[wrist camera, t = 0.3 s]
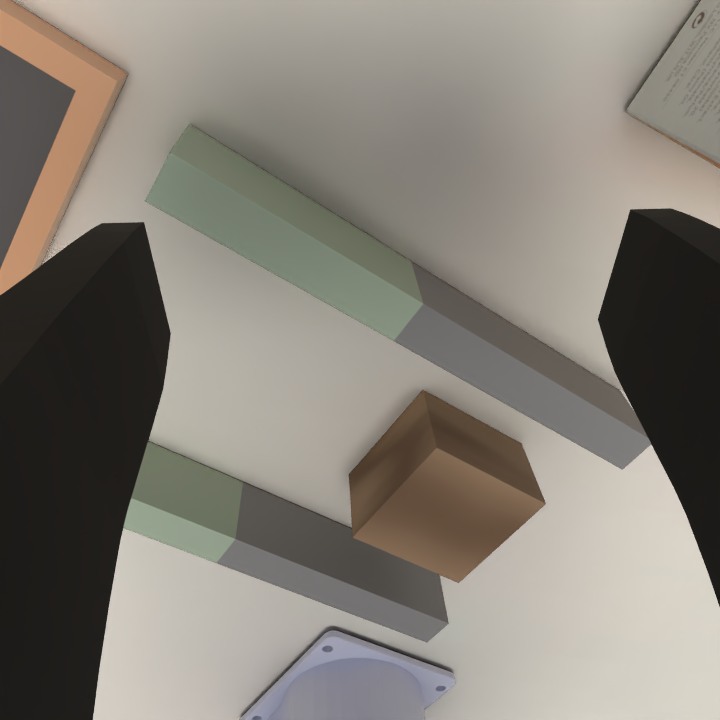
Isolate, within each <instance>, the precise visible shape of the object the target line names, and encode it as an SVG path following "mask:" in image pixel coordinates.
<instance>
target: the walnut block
mask: <svg viewBox="0 0 720 720" xmlns="http://www.w3.org/2000/svg"><path fill="white" fill-rule="evenodd" d="M349 484H350V500H351V517H352V533H353V538H355V539H358V540H360V541H362V542H365V543H367V544H369V545H372V546H374V547H376V548H379V549H381V550H383V551H386V552H388V553H390V554H393V555H395V556H397V557H399V558H402V559H404V560H406V561H409V562H411V563H413V564H416V565H418V566H420V567H423V568H425V569H427V570H430V571H432V572H434V573H437V574H439V575H441V576H444V577H446V578H448V579H451V580H453V581H455V582H458V583H459V582H460V581H461V580H462V579H464V578H465V577H466V576H467V575H468V574H469V573H470V572H471V571H472V570H473V569H475V568H476V567H477V566H478V565H479V564H480V563H481V562H482V561H483V560H484V559H486V558H487V557H488V556H489V555H490V554H491V553H492V552H493V551H494V550H496V549H497V548H498V547H499V546H500V545H501V544H502V543H503V542H504V541H505V540H507V539H508V538H509V537H510V536H511V535H512V534H513V533H514V532H515V531H516V530H518V529H519V528H520V527H521V526H522V525H523V524H524V523H525V522H526V521H528V520H529V519H530V518H531V517H532V516H533V515H534V514H535V513H536V512H537V511H539V510H540V509H541V508H542V507H543V506H544V505H545V504H546V503H545V500H544V498H543V496H542V493H541V491H540V488H539V486H538V483H537V481H536V478H535V476H534V473H533V471H532V468H531V466H530V463H529V461H528V458H527V456H526V453H525V451H524V449H523V446H522V444H521V443H519V442H517V441H516V440H514V439H512V438H510V437H508V436H506V435H505V434H503V433H501V432H499V431H497V430H495V429H494V428H492V427H490V426H488V425H486V424H485V423H483V422H481V421H479V420H477V419H475V418H474V417H472V416H470V415H468V414H466V413H465V412H463V411H461V410H459V409H457V408H455V407H454V406H452V405H450V404H448V403H446V402H444V401H443V400H441V399H439V398H437V397H435V396H434V395H432V394H430V393H428V392H426V391H424V390H422V392H421V393H420V394H419V395H418V396H417V397H416V398H415V400H414V401H413V402H412V403H411V404H410V405H409V406H408V408H407V409H406V410H405V411H404V412H403V413H402V414H401V416H400V417H399V418H398V419H397V420H396V421H395V423H394V424H393V425H392V426H391V427H390V428H389V429H388V431H387V432H386V433H385V434H384V435H383V436H382V437H381V439H380V440H379V441H378V442H377V443H376V444H375V445H374V447H373V448H372V449H371V450H370V451H369V452H368V453H367V455H366V456H365V457H364V458H363V459H362V460H361V461H360V463H359V464H358V465H357V466H356V467H355V468H354V470H353V471H352V472H351V473H350V474H349Z"/></svg>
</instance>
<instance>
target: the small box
mask: <svg viewBox="0 0 720 720" xmlns="http://www.w3.org/2000/svg"><path fill="white" fill-rule="evenodd" d="M627 113H628V114H629V115H630V116H632V117H634V118H635V119H637V120H639V121H641V122H642V123H644V124H646V125H648V126H649V127H651V128H653V129H654V130H656V131H658V132H659V133H661V134H663V135H664V136H666V137H668V138H669V139H671V140H673V141H674V142H676V143H678V144H680V145H681V146H683V147H685V148H686V149H688V150H690V151H691V152H693V153H695V154H696V155H698V156H700V157H701V158H703V159H705V160H707V161H708V162H710V163H712V164H713V165H715V166H717V167H718V168H720V0H701V1H700V2H699V4H698V6H697V7H696V9H695V10H694V12H693V13H692V15H691V16H690V18H689V19H688V20H687V22H686V23H685V25H684V26H683V28H682V29H681V31H680V32H679V34H678V35H677V37H676V38H675V40H674V41H673V42H672V44H671V45H670V47H669V48H668V50H667V51H666V53H665V54H664V56H663V57H662V58H661V60H660V61H659V63H658V64H657V66H656V67H655V69H654V70H653V72H652V73H651V74H650V76H649V77H648V79H647V80H646V82H645V83H644V85H643V86H642V88H641V89H640V90H639V92H638V93H637V95H636V96H635V98H634V99H633V101H632V102H631V104H630V105H629V107H628V108H627Z"/></svg>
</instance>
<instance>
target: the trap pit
mask: <svg viewBox="0 0 720 720" xmlns="http://www.w3.org/2000/svg"><path fill="white" fill-rule="evenodd" d="M127 75H128V73H127V72H125V71H123V70H122V69H120V68H119V67H117V66H115V65H114V64H112V63H111V62H109V61H107V60H106V59H104V58H103V57H101V56H99V55H98V54H96V53H95V52H93V51H92V50H90V49H88V48H87V47H85V46H84V45H82V44H80V43H79V42H77V41H76V40H74V39H72V38H71V37H69V36H68V35H66V34H64V33H63V32H61V31H60V30H58V29H56V28H55V27H53V26H52V25H50V24H48V23H47V22H45V21H44V20H42V19H40V18H39V17H37V16H36V15H34V14H32V13H31V12H29V11H28V10H26V9H25V8H23V7H21V6H20V5H18V4H17V3H15V2H13V1H12V0H0V295H1V294H3V293H4V292H6V291H7V290H8V289H10V288H11V287H13V286H14V285H15V284H17V283H18V282H19V281H21V280H22V279H23V278H25V277H26V276H28V275H29V274H30V273H32V272H33V271H34V270H36V269H37V268H38V267H40V266H41V264H42V261H43V259H44V257H45V255H46V253H47V251H48V248H49V246H50V244H51V242H52V240H53V237H54V235H55V233H56V231H57V229H58V226H59V224H60V222H61V220H62V218H63V215H64V213H65V211H66V209H67V207H68V204H69V202H70V200H71V198H72V196H73V193H74V191H75V189H76V187H77V185H78V183H79V180H80V178H81V176H82V174H83V172H84V169H85V167H86V165H87V163H88V161H89V158H90V156H91V154H92V152H93V150H94V147H95V145H96V143H97V141H98V139H99V136H100V134H101V132H102V130H103V128H104V125H105V123H106V121H107V119H108V117H109V114H110V112H111V110H112V108H113V106H114V104H115V101H116V99H117V97H118V95H119V93H120V90H121V88H122V86H123V84H124V82H125V79H126V77H127Z"/></svg>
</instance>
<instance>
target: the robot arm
mask: <svg viewBox="0 0 720 720" xmlns="http://www.w3.org/2000/svg"><path fill="white" fill-rule="evenodd" d="M598 321H599V324H600V328H601V331H602V334H603V338H604V341H605V344H606V348H607V351H608V354H609V356H610V359H611V362H612V365H613V368H614V371H615V373H616V375H617V377H618V379H619V381H620V384H621V386H622V388H623V390H624V392H625V394H626V396H627V398H628V399H629V401H630V403H631V405H632V407H633V409H634V411H635V413H636V415H637V417H638V419H639V421H640V423H641V425H642V427H643V429H644V431H645V433H646V435H647V437H648V438H649V440H650V442H651V444H652V446H653V448H654V450H655V452H656V454H657V456H658V458H659V460H660V462H661V464H662V466H663V467H664V469H665V471H666V473H667V475H668V477H669V479H670V481H671V483H672V485H673V487H674V489H675V491H676V493H677V495H678V498H679V500H680V502H681V504H682V506H683V509H684V511H685V513H686V515H687V518H688V520H689V523H690V526H691V528H692V531H693V534H694V536H695V539H696V542H697V544H698V547H699V550H700V552H701V555H702V558H703V560H704V563H705V566H706V568H707V571H708V574H709V577H710V579H711V582H712V585H713V588H714V591H715V594H716V597H717V600H718V603H719V606H720V229H719V228H717V227H715V226H713V225H710V224H708V223H706V222H704V221H702V220H700V219H697V218H695V217H693V216H690V215H688V214H685V213H682V212H679V211H677V210H674V209H634V210H630V213H629V216H628V220H627V223H626V226H625V230H624V233H623V236H622V240H621V243H620V246H619V250H618V253H617V257H616V260H615V263H614V267H613V270H612V273H611V277H610V280H609V284H608V287H607V290H606V294H605V297H604V300H603V304H602V307H601V311H600V314H599V317H598ZM170 334H171V333H170V329H169V325H168V320H167V316H166V312H165V308H164V304H163V300H162V295H161V291H160V287H159V283H158V279H157V275H156V270H155V266H154V262H153V258H152V254H151V250H150V245H149V241H148V237H147V233H146V229H145V224H144V222H138V223H102V224H100V225H98V226H96V227H95V228H93V229H91V230H90V231H88V232H87V233H85V234H84V235H82V236H81V237H79V238H78V239H77V240H75V241H74V242H72V243H71V244H70V245H68V246H67V247H66V248H64V249H63V250H61V251H60V252H59V253H57V254H56V255H55V256H53V257H52V258H51V259H49V260H48V261H47V262H45V263H44V264H43V265H41V266H40V267H38V268H37V269H36V270H34V271H33V272H32V273H30V274H29V275H28V276H26V277H25V278H23V279H22V280H21V281H19V282H18V283H17V284H15V285H14V286H13V287H11V288H10V289H8V290H7V291H6V292H4V293H3V294H1V295H0V720H93V713H94V705H95V697H96V690H97V682H98V674H99V667H100V660H101V654H102V647H103V641H104V634H105V628H106V621H107V615H108V608H109V602H110V596H111V590H112V584H113V579H114V573H115V567H116V562H117V556H118V550H119V544H120V539H121V535H122V531H123V527H124V523H125V519H126V515H127V511H128V507H129V504H130V501H131V497H132V494H133V490H134V487H135V484H136V480H137V477H138V473H139V470H140V467H141V463H142V460H143V457H144V453H145V450H146V446H147V443H148V440H149V436H150V433H151V430H152V426H153V423H154V419H155V416H156V412H157V409H158V405H159V402H160V398H161V394H162V391H163V386H164V379H165V373H166V366H167V359H168V350H169V342H170ZM455 684H456V679H455V675H454V674H453V673H451V672H449V671H446V670H444V669H441V668H438V667H435V666H433V665H430V664H427V663H424V662H422V661H419V660H416V659H413V658H411V657H408V656H405V655H402V654H400V653H397V652H394V651H391V650H389V649H386V648H383V647H380V646H377V645H375V644H372V643H369V642H366V641H364V640H361V639H358V638H355V637H353V636H350V635H347V634H344V633H342V632H339V631H335V630H334V631H328V632H326V633H325V634H324V635H323V636H322V637H321V638H320V639H319V640H318V641H317V642H316V643H315V644H314V645H313V646H312V647H311V648H310V649H309V650H308V651H307V652H306V653H305V654H304V655H303V656H302V657H301V658H300V659H299V660H298V661H297V662H296V663H295V664H294V665H293V666H292V667H291V668H290V669H289V670H288V671H287V672H286V673H285V674H284V675H283V676H282V677H281V678H280V679H279V680H278V681H277V682H276V683H275V684H274V685H273V686H272V687H271V688H270V689H269V690H268V691H267V692H266V693H265V694H264V695H263V696H262V697H261V698H260V699H259V700H258V701H257V702H256V703H255V704H254V705H253V706H252V707H251V708H250V709H249V710H248V711H247V712H246V713H245V714H244V715H243V716H242V717H241V718H240V720H425V714H424V710H425V709H426V708H427V707H428V706H430V705H431V704H432V703H433V702H434V701H436V700H437V699H438V698H439V697H441V696H442V695H443V694H444V693H446V692H447V691H448V690H449V689H450V688H452V687H453V686H454V685H455Z"/></svg>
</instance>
